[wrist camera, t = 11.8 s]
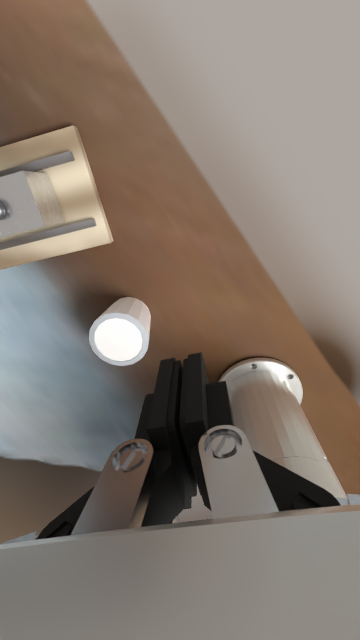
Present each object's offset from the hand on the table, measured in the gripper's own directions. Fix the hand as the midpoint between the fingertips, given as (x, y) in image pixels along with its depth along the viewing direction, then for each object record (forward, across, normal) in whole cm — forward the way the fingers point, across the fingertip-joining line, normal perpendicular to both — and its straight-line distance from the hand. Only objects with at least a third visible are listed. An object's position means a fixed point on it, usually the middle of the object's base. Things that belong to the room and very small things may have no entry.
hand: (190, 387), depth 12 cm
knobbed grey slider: (+24, +17, -12) cm, 32 cm away
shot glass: (+27, +10, +5) cm, 29 cm away
